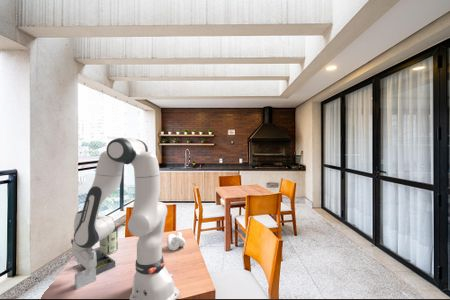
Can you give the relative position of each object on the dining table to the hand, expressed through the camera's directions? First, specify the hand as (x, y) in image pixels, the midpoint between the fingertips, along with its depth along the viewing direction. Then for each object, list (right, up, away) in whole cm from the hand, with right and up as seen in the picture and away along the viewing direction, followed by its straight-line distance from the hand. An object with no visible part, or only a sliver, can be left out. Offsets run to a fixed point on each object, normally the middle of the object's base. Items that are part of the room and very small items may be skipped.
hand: (83, 271), depth 101 cm
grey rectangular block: (+1, -6, 0) cm, 6 cm away
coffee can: (-6, -6, +32) cm, 33 cm away
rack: (-3, -6, +15) cm, 16 cm away
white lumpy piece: (+36, -6, +38) cm, 52 cm away
